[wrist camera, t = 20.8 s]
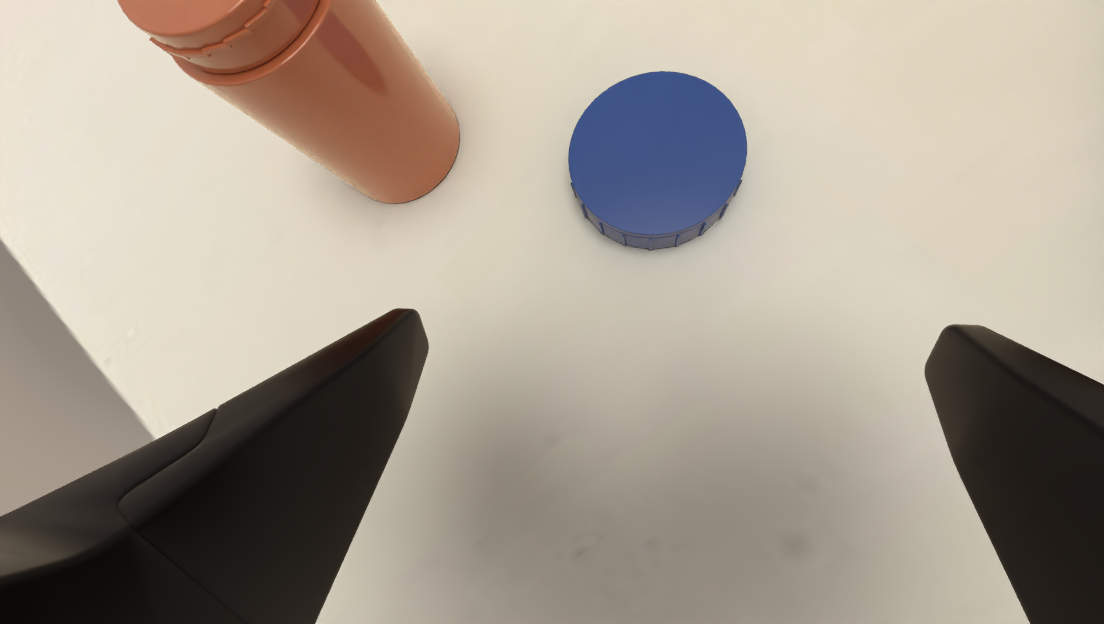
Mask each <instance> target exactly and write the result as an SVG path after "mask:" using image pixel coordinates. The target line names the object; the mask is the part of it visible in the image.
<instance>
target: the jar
mask: <svg viewBox="0 0 1104 624" xmlns="http://www.w3.org/2000/svg"><path fill="white" fill-rule="evenodd" d="M118 3H119V5H120V7H121V9H122V11H123V12H124V13H125V15H126V16H127V17H128V19H129V20H130V21H131V22H132V23H133V24H134V25H135V26H137V27H138V28H139V29H141V30H142V31H144V32H145V33H146V34H148V35H149V36H151V38H150V41H152V42H153V43H154V44H156V45H157V46H159V47H160V48H161V49H163V50H164V51H165V52H167V53H168V54H170V55H171V56H172V57H173V59H174V60H175V62H176V63H177V64H178V66H179V67H180V68H181V69H182V70H183V71H184V72H185V73H186V74H187V75H189V76H190V77H191V78H193V79H194V80H196V81H197V82H199V83H200V84H202V85H203V86H205V87H206V88H208V89H209V90H211V91H212V92H214V93H215V94H217V95H218V96H220V97H221V98H223V99H224V100H225V101H227V102H228V103H230V104H231V105H233V106H234V107H236V108H237V109H239V110H240V111H242V112H243V113H245V114H246V115H248V116H249V117H251V118H252V119H254V120H255V121H257V122H258V123H259V124H261V125H262V126H264V127H265V128H267V129H268V130H270V131H271V132H273V133H274V134H276V135H277V136H279V137H280V138H282V139H283V140H285V141H286V142H288V143H289V144H291V145H292V146H293V147H295V148H296V149H298V150H299V151H301V152H302V153H304V154H305V155H307V156H308V157H310V158H311V159H313V160H314V161H316V162H317V163H319V164H320V165H322V166H323V167H325V168H326V169H328V170H329V171H330V172H332V173H333V174H335V175H336V176H338V177H339V178H341V179H342V180H344V181H345V182H347V183H348V184H350V185H351V186H353V187H354V188H356V189H357V190H359V191H360V192H362V193H363V194H364V195H366V196H368V197H369V198H371V199H374V200H376V201H379V202H383V203H403V202H408V201H411V200H415V199H417V198H419V197H421V196H423V195H425V194H426V193H428V192H430V191H431V190H432V189H433V188H435V187H436V186H437V185H438V184H439V183H440V182H441V181H442V180H443V178H444V177H445V176H446V175H447V173H448V172H449V170H450V168H451V167H452V165H453V162H454V160H455V158H456V155H457V151H458V146H459V127H458V122H457V119H456V116H455V114H454V112H453V110H452V108H451V107H450V105H449V104H448V102H447V101H446V99H445V98H444V97H443V95H442V94H441V92H440V91H439V89H438V88H437V87H436V85H435V84H434V82H433V81H432V79H431V78H430V77H429V75H428V74H427V72H426V71H425V70H424V68H423V67H422V65H421V64H420V62H419V61H418V60H417V58H416V57H415V55H414V54H413V52H412V51H411V50H410V48H409V47H408V45H407V44H406V42H405V41H404V40H403V38H402V37H401V35H400V34H399V32H398V31H397V30H396V28H395V27H394V25H393V24H392V22H391V21H390V20H389V18H388V17H387V15H386V14H385V12H384V11H383V10H382V8H381V7H380V5H379V4H378V2H377V1H376V0H118Z"/></svg>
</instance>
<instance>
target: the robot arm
mask: <svg viewBox="0 0 1104 624" xmlns="http://www.w3.org/2000/svg"><path fill="white" fill-rule="evenodd" d="M428 348H429V345H428V339H427V336H426V333H425V330H424V327H423V324H422V321H421V318H420V315H419V313H418V312H417V311H416V310H414V309H401V308H397V309H394V310H392V311H390V312H388V313H386V314H384V315H383V316H381V317H379V318H377V319H375V320H373V321H372V322H370V323H368V324H366V325H364V326H363V327H361V328H359V329H357V330H355V331H354V332H352V333H350V334H348V335H346V336H345V337H343V338H341V339H339V340H337V341H335V342H334V343H332V344H330V345H328V346H326V347H325V348H323V349H321V350H319V351H317V352H316V353H314V354H312V355H310V356H308V357H307V358H305V359H303V360H301V361H299V362H297V363H296V364H294V365H292V366H290V367H288V368H287V369H285V370H283V371H281V372H279V373H278V374H276V375H274V376H272V377H270V378H269V379H267V380H265V381H263V382H261V383H259V384H258V385H256V386H254V387H252V388H250V389H249V390H247V391H245V392H243V393H241V394H240V395H238V396H236V397H234V398H232V399H231V400H229V401H227V402H225V403H223V404H222V405H220V406H219V407H218V409H212V410H210V411H209V412H207V413H205V414H203V415H201V416H200V417H198V418H196V419H194V420H192V421H191V422H189V423H187V424H185V425H183V426H181V427H179V428H177V429H176V430H174V431H172V432H170V433H168V434H166V435H164V436H163V437H161V438H159V439H157V440H155V441H153V442H151V443H149V444H147V445H145V446H143V447H141V448H140V449H137V450H135V451H133V452H131V453H129V454H127V455H125V456H124V457H122V458H120V459H117V460H116V461H113V462H112V463H110V464H107V465H105V466H103V467H101V468H99V469H97V470H95V471H93V472H92V473H89V474H87V475H85V476H83V477H81V478H79V479H77V480H75V481H73V482H71V483H69V484H67V485H65V486H63V487H61V488H59V489H57V490H55V491H53V492H51V493H49V494H47V495H45V496H42V497H40V498H38V499H37V500H34V501H32V502H30V503H28V504H26V505H24V506H22V507H20V508H18V509H16V510H14V511H12V512H9V513H8V514H5V515H3V516H1V517H0V624H315V623H316V620H317V618H318V616H319V614H320V611H321V609H322V607H323V605H324V603H325V600H326V598H327V596H328V594H329V591H330V589H331V587H332V585H333V582H334V580H335V578H336V576H337V573H338V571H339V569H340V567H341V565H342V562H343V560H344V558H345V556H346V553H347V551H348V549H349V547H350V544H351V542H352V540H353V538H354V535H355V533H356V531H357V529H358V527H359V524H360V522H361V520H362V518H363V515H364V513H365V511H366V509H367V506H368V504H369V502H370V500H371V497H372V495H373V493H374V491H375V489H376V486H377V484H378V482H379V480H380V477H381V475H382V473H383V471H384V468H385V466H386V464H387V462H388V459H389V457H390V455H391V453H392V451H393V448H394V446H395V444H396V442H397V439H398V437H399V435H400V433H401V430H402V428H403V426H404V423H405V421H406V419H407V416H408V413H409V410H410V407H411V404H412V401H413V398H414V395H415V392H416V389H417V385H418V382H419V379H420V376H421V373H422V370H423V367H424V364H425V360H426V357H427V354H428ZM925 378H926V381H927V384H928V387H929V390H930V393H931V396H932V399H933V402H934V405H935V408H936V411H937V414H938V417H939V420H940V423H941V426H942V429H943V432H944V435H945V438H946V441H947V444H948V447H949V450H950V453H951V456H952V458H953V461H954V463H955V466H956V468H957V470H958V472H959V475H960V477H961V479H962V481H963V483H964V485H965V488H966V490H967V492H968V494H969V496H970V498H971V500H972V502H973V504H974V507H975V509H976V511H977V513H978V515H979V517H980V519H981V521H982V523H983V525H984V528H985V530H986V532H987V534H988V536H989V538H990V540H991V542H992V544H993V547H994V549H995V551H996V553H997V555H998V557H999V559H1000V561H1001V563H1002V565H1003V568H1004V570H1005V572H1006V574H1007V576H1008V578H1009V580H1010V582H1011V584H1012V587H1013V589H1014V591H1015V593H1016V595H1017V597H1018V599H1019V601H1020V603H1021V605H1022V608H1023V610H1024V612H1025V614H1026V616H1027V618H1028V620H1029V622H1030V624H1104V385H1103V384H1101V383H1099V382H1097V381H1095V380H1093V379H1091V378H1089V377H1087V376H1085V375H1083V374H1081V373H1079V372H1076V371H1074V370H1072V369H1070V368H1068V367H1066V366H1064V365H1062V364H1060V363H1058V362H1056V361H1054V360H1052V359H1050V358H1048V357H1046V356H1044V355H1041V354H1039V353H1037V352H1035V351H1033V350H1031V349H1029V348H1027V347H1025V346H1023V345H1021V344H1019V343H1017V342H1015V341H1013V340H1011V339H1009V338H1006V337H1004V336H1002V335H1000V334H998V333H996V332H994V331H992V330H990V329H988V328H986V327H983V326H980V325H958V324H953V325H949V326H947V327H946V328H944V329H943V331H942V332H941V334H940V336H939V338H938V340H937V342H936V344H935V346H934V348H933V350H932V352H931V354H930V356H929V358H928V360H927V362H926V365H925Z"/></svg>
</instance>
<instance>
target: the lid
mask: <svg viewBox="0 0 1104 624" xmlns="http://www.w3.org/2000/svg"><path fill="white" fill-rule="evenodd" d="M746 156H747V140H746V133H745V129H744V126H743V123H742V120H741V118H740V116H739V114H738V112H737V110H736V109H735V107H734V106H733V104H732V103H731V101H730V100H729V99H728V98H727V97H726V96H725V95H724V94H723V93H722V92H721V91H719V90H718V89H717V88H716V87H714V86H713V85H711V84H709V83H708V82H706V81H704V80H702V79H699V78H697V77H694V76H691V75H688V74H684V73H678V72H665V71H661V72H650V73H644V74H639V75H636V76H633V77H630V78H627V79H625V80H623V81H621V82H618V83H617V84H615V85H613V86H611V87H610V88H608V89H607V90H606V91H604V92H603V93H602V94H600V95H599V96H598V97H597V98H596V99H595V100H594V101H593V102H592V103H591V104H590V105H589V106H588V108H587V109H586V110H585V111H584V113H583V114H582V116H581V118H580V119H579V121H578V123H577V125H576V127H575V129H574V132H573V135H572V138H571V142H570V147H569V158H568V161H569V171H570V176H571V180H572V182H571V186H572V189H573V191H574V194H575V197H578V200H579V202H580V205H581V208H582V211H583V213H584V216H585V218H587V217H588V219H589V220H590V221H591V223H592V224H593V225H594V226H595V227H596V228H597V229H598V230H600V232H601V234H602V235H604V234H605V235H606V236H608V237H610V238H611V239H613V240H615V241H617V242H620V243H622V244H623V246H626V245H628V246H632V247H637V248H645V249H649V250H652V249H658V248H666V247H671V246H676V247H678V245H679V244H681V243H684V242H687V241H689V240H691V239H693V238H695V237H697V236H698V235H700V236H702V235H703V233H704V231H706V230H707V229H708V228H709V227H710V226H712V225H713V224H714V223H715V222H716V221H717V220H718V218H719V217H720V218H722V217H723V215H724V213H725V211H726V208H727V206H728V204H729V202H730V200H731V198H732V196H733V195H734V196H735V194H736V192H737V190H738V188H739V186H740V184H741V182H742V180H740V179H741V176H742V174H743V170H744V167H745V163H746Z"/></svg>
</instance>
